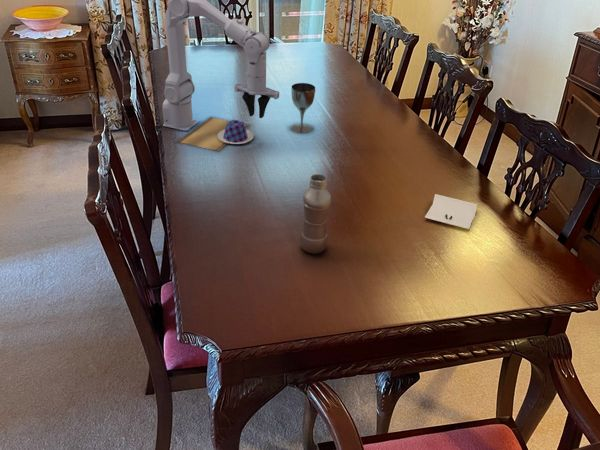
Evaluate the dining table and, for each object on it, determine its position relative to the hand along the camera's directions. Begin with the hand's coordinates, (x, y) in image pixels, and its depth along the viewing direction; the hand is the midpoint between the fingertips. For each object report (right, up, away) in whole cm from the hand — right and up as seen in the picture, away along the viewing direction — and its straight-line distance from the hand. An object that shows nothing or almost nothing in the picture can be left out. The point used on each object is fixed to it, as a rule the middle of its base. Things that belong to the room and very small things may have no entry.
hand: (256, 116), depth 177 cm
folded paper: (+55, -32, -26) cm, 69 cm away
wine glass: (+14, -1, +16) cm, 22 cm away
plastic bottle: (+17, -41, -41) cm, 61 cm away
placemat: (-15, -4, +10) cm, 18 cm away
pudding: (-8, -6, +7) cm, 12 cm away
